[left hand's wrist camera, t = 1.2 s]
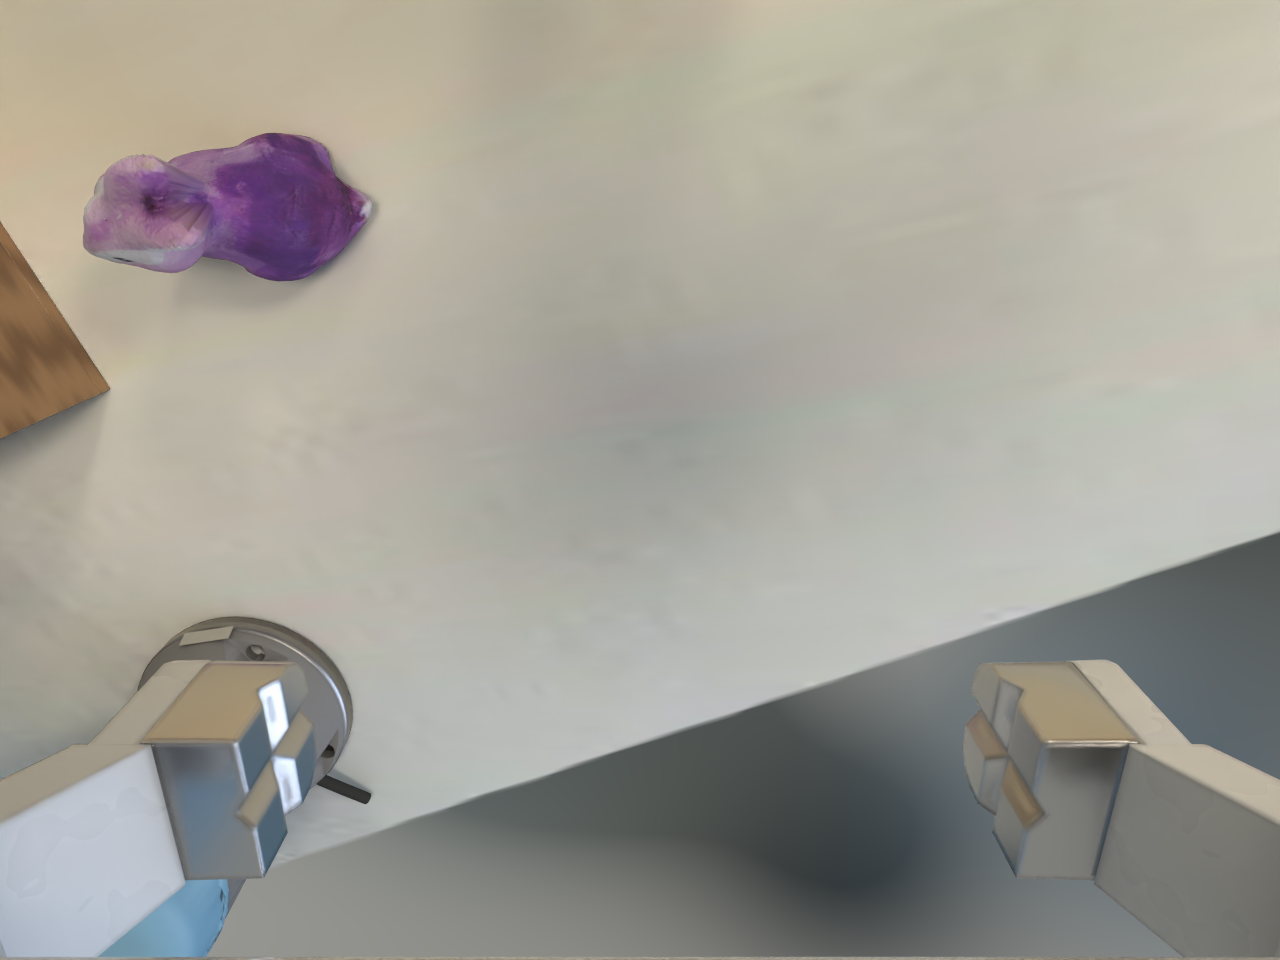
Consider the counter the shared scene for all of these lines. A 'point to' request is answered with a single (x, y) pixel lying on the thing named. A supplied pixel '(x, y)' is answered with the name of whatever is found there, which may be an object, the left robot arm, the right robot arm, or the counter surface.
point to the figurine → (227, 209)
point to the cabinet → (36, 350)
